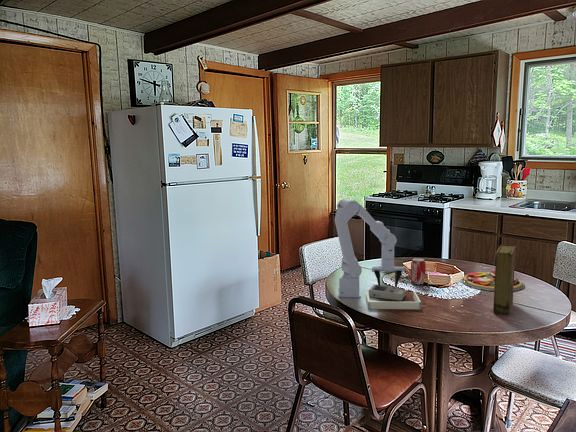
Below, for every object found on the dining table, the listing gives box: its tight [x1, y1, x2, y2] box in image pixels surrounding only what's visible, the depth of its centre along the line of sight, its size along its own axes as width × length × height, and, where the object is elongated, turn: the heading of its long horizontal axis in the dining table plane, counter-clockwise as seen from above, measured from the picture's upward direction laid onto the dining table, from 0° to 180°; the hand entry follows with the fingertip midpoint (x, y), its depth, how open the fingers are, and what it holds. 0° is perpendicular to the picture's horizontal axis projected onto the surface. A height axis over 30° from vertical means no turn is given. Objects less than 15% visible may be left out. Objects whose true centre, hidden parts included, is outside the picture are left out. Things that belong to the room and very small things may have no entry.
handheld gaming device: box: [368, 284, 406, 302], centre depth 199 cm, size 9×15×4 cm, turn 64°
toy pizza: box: [460, 270, 525, 292], centre depth 212 cm, size 28×28×4 cm
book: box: [492, 243, 517, 316], centre depth 178 cm, size 16×6×25 cm, turn 148°
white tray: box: [365, 290, 422, 310], centre depth 189 cm, size 22×13×3 cm, turn 84°
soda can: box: [410, 257, 427, 286], centre depth 214 cm, size 7×7×12 cm
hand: (387, 286), depth 206 cm, fingers open, 7 cm apart
